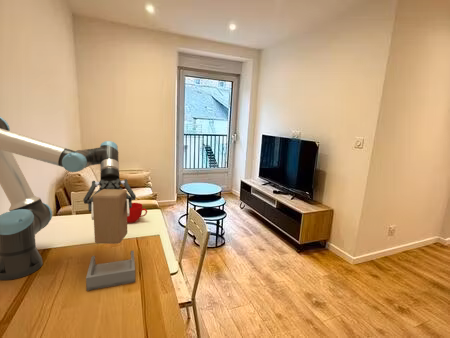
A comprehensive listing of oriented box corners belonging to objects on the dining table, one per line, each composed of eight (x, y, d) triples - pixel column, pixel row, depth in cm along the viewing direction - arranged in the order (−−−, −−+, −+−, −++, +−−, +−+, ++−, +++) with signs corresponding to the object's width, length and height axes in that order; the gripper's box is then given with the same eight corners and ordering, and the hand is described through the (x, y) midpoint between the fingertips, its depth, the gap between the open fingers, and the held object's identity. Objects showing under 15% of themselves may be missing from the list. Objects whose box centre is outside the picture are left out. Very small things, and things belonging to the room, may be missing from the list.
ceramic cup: (141, 226, 150) (141, 210, 148) (116, 223, 153) (115, 207, 151) (152, 219, 162) (151, 204, 161) (128, 216, 165) (128, 202, 164)
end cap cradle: (86, 290, 89) (86, 278, 89) (92, 267, 104) (91, 256, 104) (135, 282, 95) (135, 270, 95) (133, 261, 110) (133, 250, 110)
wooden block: (128, 233, 108) (127, 189, 105) (120, 244, 98) (118, 195, 95) (104, 233, 107) (102, 188, 104) (93, 244, 98) (91, 195, 94)
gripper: (138, 175, 118) (142, 217, 107) (79, 177, 108) (77, 224, 97) (139, 166, 112) (143, 209, 101) (76, 167, 102) (74, 215, 91)
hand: (111, 216), depth 99 cm, fingers closed on wooden block, 12 cm apart
